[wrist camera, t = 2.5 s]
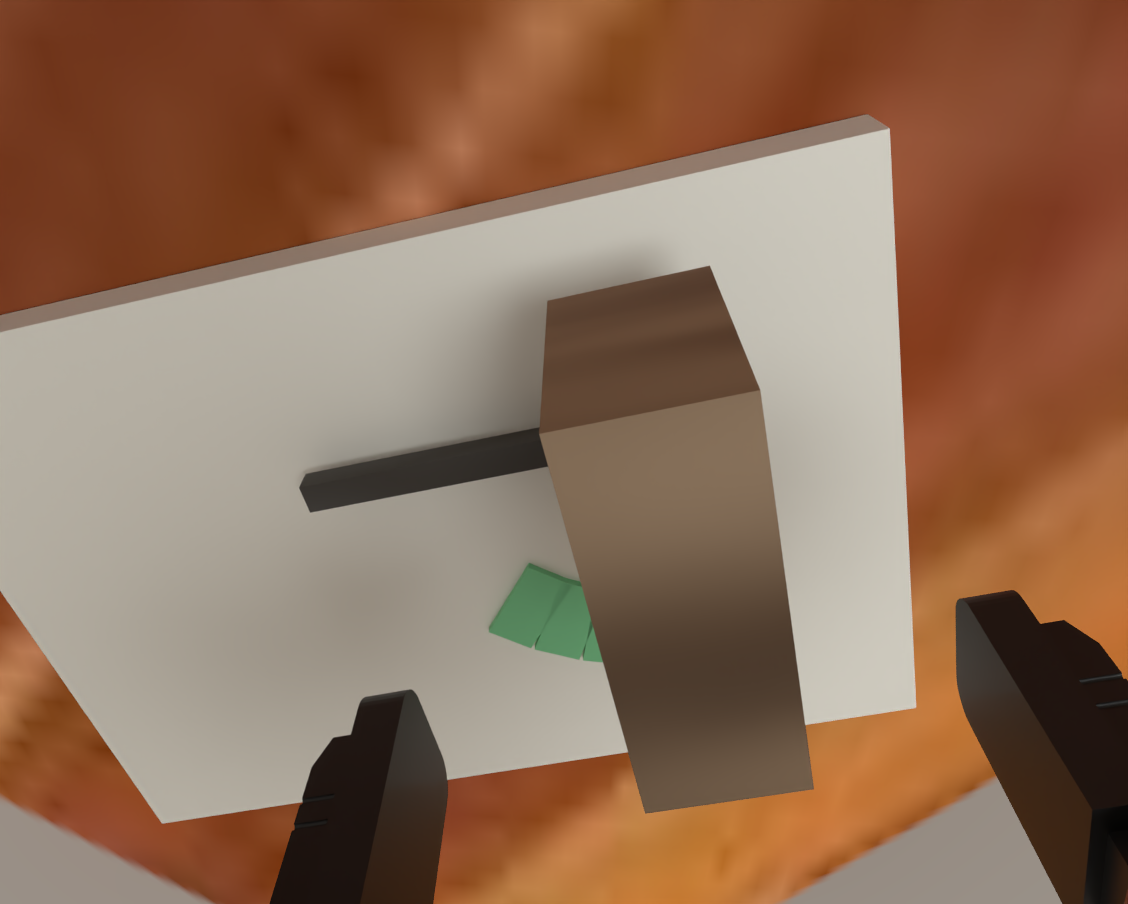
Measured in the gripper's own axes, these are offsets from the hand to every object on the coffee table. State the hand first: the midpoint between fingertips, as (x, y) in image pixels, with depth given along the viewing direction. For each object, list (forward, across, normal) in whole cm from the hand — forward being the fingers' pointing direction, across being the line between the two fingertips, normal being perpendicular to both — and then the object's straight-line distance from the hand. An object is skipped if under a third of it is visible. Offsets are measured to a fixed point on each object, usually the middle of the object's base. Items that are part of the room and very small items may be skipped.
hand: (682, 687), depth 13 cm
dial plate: (+10, +6, +3) cm, 12 cm away
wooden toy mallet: (+8, +3, 0) cm, 9 cm away
